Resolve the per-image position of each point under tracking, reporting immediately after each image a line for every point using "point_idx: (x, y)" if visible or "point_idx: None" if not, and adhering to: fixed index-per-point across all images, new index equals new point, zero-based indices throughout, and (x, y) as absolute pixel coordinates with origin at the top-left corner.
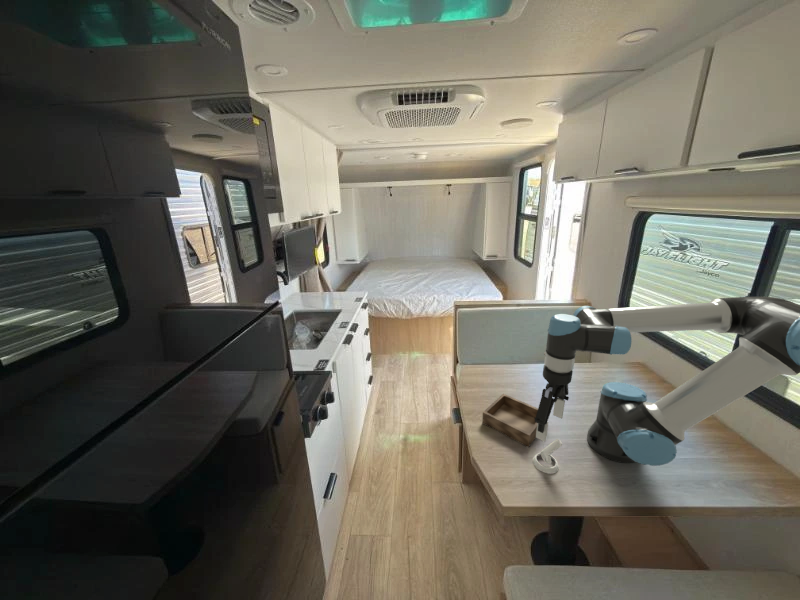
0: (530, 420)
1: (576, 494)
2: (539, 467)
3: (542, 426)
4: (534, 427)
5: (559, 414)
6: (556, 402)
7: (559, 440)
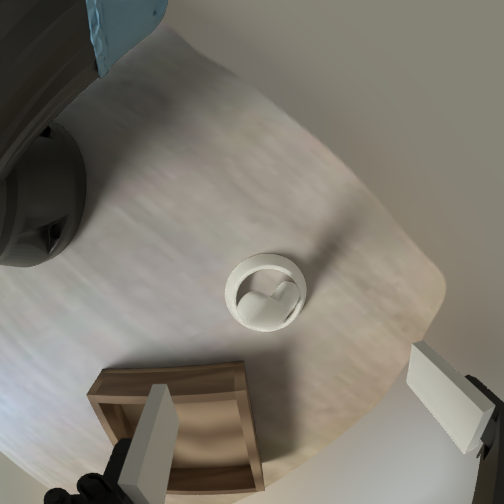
0: (138, 406)
1: (308, 172)
2: (305, 296)
3: (497, 400)
4: (191, 397)
5: (165, 410)
6: (161, 488)
7: (248, 312)
